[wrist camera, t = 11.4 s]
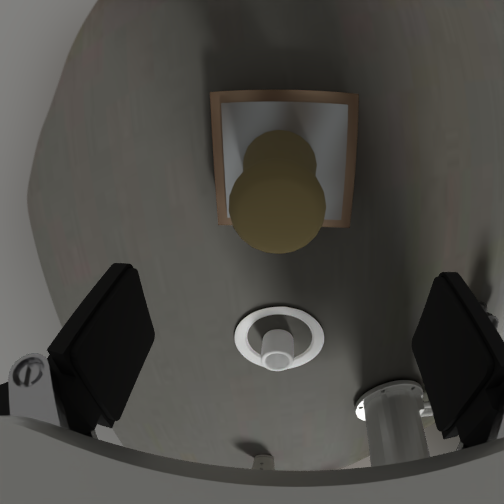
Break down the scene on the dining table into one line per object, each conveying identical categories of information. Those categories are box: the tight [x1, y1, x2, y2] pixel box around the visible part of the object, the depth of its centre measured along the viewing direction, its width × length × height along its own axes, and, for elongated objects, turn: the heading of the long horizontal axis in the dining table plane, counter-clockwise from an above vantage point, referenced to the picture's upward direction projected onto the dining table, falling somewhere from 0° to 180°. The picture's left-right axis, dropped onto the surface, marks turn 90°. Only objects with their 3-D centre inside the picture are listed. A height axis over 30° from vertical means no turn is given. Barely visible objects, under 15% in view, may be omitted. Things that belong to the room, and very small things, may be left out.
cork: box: [229, 130, 326, 254], centre depth 20 cm, size 6×6×11 cm
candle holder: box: [235, 307, 324, 371], centre depth 39 cm, size 12×12×4 cm
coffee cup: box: [252, 455, 275, 470], centre depth 58 cm, size 7×7×10 cm
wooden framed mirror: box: [210, 90, 359, 228], centre depth 26 cm, size 12×12×5 cm
